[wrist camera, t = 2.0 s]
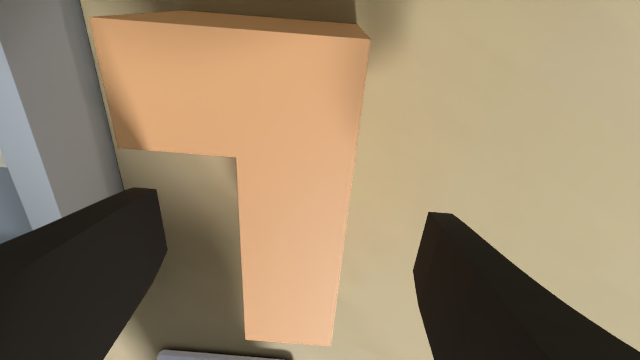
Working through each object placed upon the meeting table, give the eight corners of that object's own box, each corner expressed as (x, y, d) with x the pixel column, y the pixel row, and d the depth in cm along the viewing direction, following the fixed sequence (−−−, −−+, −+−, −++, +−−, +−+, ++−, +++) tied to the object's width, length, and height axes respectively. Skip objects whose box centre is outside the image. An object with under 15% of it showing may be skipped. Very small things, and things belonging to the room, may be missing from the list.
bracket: (331, 252, 16) (330, 346, 12) (206, 242, 16) (159, 332, 12) (356, 24, 12) (370, 39, 7) (181, 10, 12) (88, 17, 7)
